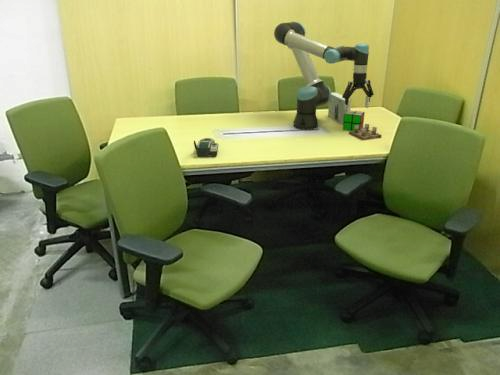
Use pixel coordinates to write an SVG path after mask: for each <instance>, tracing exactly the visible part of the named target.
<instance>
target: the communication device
mask: <svg viewBox="0 0 500 375" xmlns="http://www.w3.org/2000/svg"><path fill="white" fill-rule="evenodd" d="M193 146H194V150H196V157H198V158H205V157H206V158H209V157H213V158H214V157H215V158H216V157H218V152H219V151H218V149H219V144H218V142H215V139H214V138H210V137H206V138H205V137H204V138H201V139H200V140H199V141H198V143H196V140H193Z"/></svg>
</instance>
